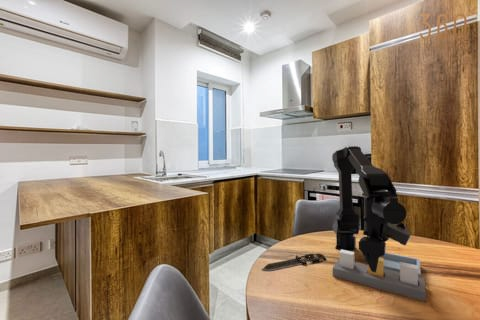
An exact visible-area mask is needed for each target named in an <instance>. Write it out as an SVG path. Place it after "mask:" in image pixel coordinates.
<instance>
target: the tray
mask: <svg viewBox="0 0 480 320" xmlns="http://www.w3.org/2000/svg"><path fill="white" fill-rule="evenodd" d="M380 258H384V269H387V270H391V271H395V272H400V262H404V263H409V264H414V265H418V277H421V278H422V273H421V260H420V258H415V257H412V256H411V257H410V256H406V255H400V254H396V253H390V252H385V255H384V256H381V257H380Z"/></svg>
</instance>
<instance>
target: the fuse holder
mask: <svg viewBox="0 0 480 320" xmlns="http://www.w3.org/2000/svg"><path fill="white" fill-rule="evenodd" d="M332 276H333V277H336V278H340V279H343V280H347V281H350V282H353V283H358V284H361V285H365V286H367V287H372V288H376V289H379V290H382V291H386V292H389V293H393V294H396V295H401V296H404V297H408V298H411V299H415V300H419V301H420V302H421V301H422V302H425V303H426V298H427V294H426V293H427V292H426V283H425V277H422V276H421V277H418V286H417V285H413V284H409V283H405V282H401V281H400V272H395V271H391V270H387V269H384V277H381V276H377V275H373V274H369V273H368V264H365V263H360V262H355V269H354V270H353V269H349V268H345V267H341V266H340V257H339V258H338V259H337V260H336V262H335V263H334V265H333V267H332Z"/></svg>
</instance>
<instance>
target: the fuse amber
mask: <svg viewBox="0 0 480 320" xmlns="http://www.w3.org/2000/svg"><path fill="white" fill-rule="evenodd" d="M367 265H368V264H367ZM368 273H369V274H373V275H377V276H381V277H384V258H380V257H379V260H378V265H377V270H376V272H372V271H371V269H370V267H369V265H368Z"/></svg>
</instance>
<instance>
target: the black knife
mask: <svg viewBox="0 0 480 320" xmlns="http://www.w3.org/2000/svg"><path fill="white" fill-rule="evenodd" d="M309 256H311V257H309ZM305 257H306V258H307V260H303V258H305ZM312 257H313V258H312ZM300 259H301V260H300ZM308 259H309V260H308ZM320 260H323V261H326V260H327V257H325V255H323V254H322V253H318V252H317V253H307V254H304V255H301V256H299V255H295V258H291V259H286V260H281V261H277V262H272V263H268V264H266V265H265V266H264V267H263V268H262V269H261V270H260V271H269V272H270V271H271V272H272V271H275V270H280V269H286V268H290V267H295V266H299V265H302V264H303V265H305V264H306V265H307V264H308V262H311V263H312V264H316V263H315V262H317V263H320Z"/></svg>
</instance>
